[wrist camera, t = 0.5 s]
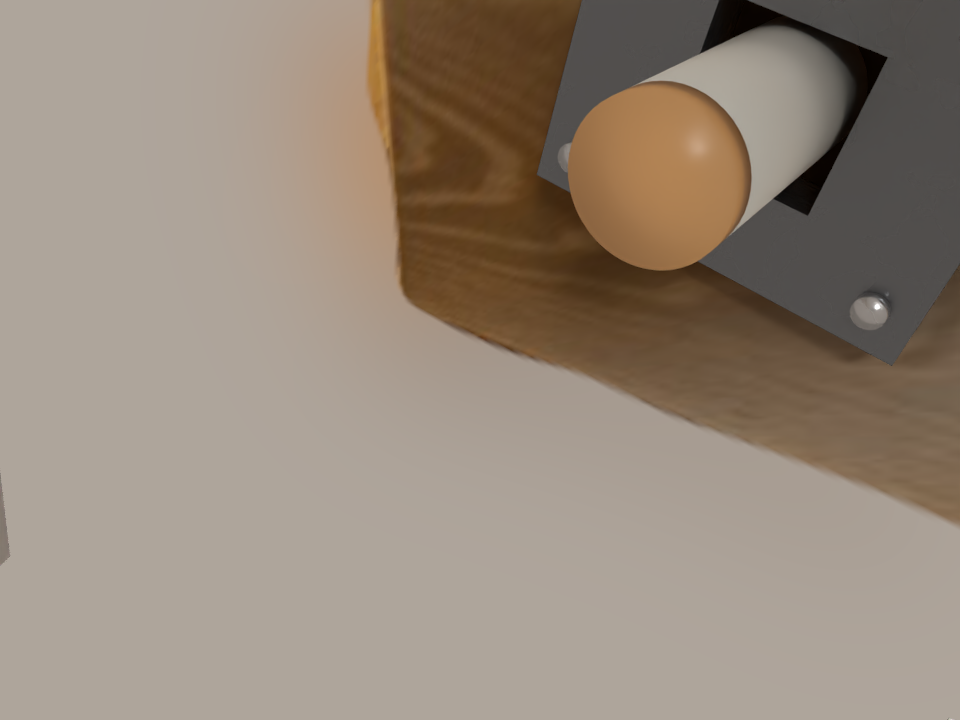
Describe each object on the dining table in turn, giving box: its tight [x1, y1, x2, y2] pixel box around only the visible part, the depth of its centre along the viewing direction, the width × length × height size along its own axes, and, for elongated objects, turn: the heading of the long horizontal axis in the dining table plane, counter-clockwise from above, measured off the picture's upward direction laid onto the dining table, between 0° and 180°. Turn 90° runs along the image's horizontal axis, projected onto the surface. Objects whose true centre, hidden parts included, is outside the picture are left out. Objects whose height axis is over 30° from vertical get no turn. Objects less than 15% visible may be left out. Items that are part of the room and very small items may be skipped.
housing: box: [537, 0, 960, 366], centre depth 35 cm, size 15×18×4 cm
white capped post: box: [568, 16, 868, 271], centre depth 32 cm, size 6×6×13 cm
